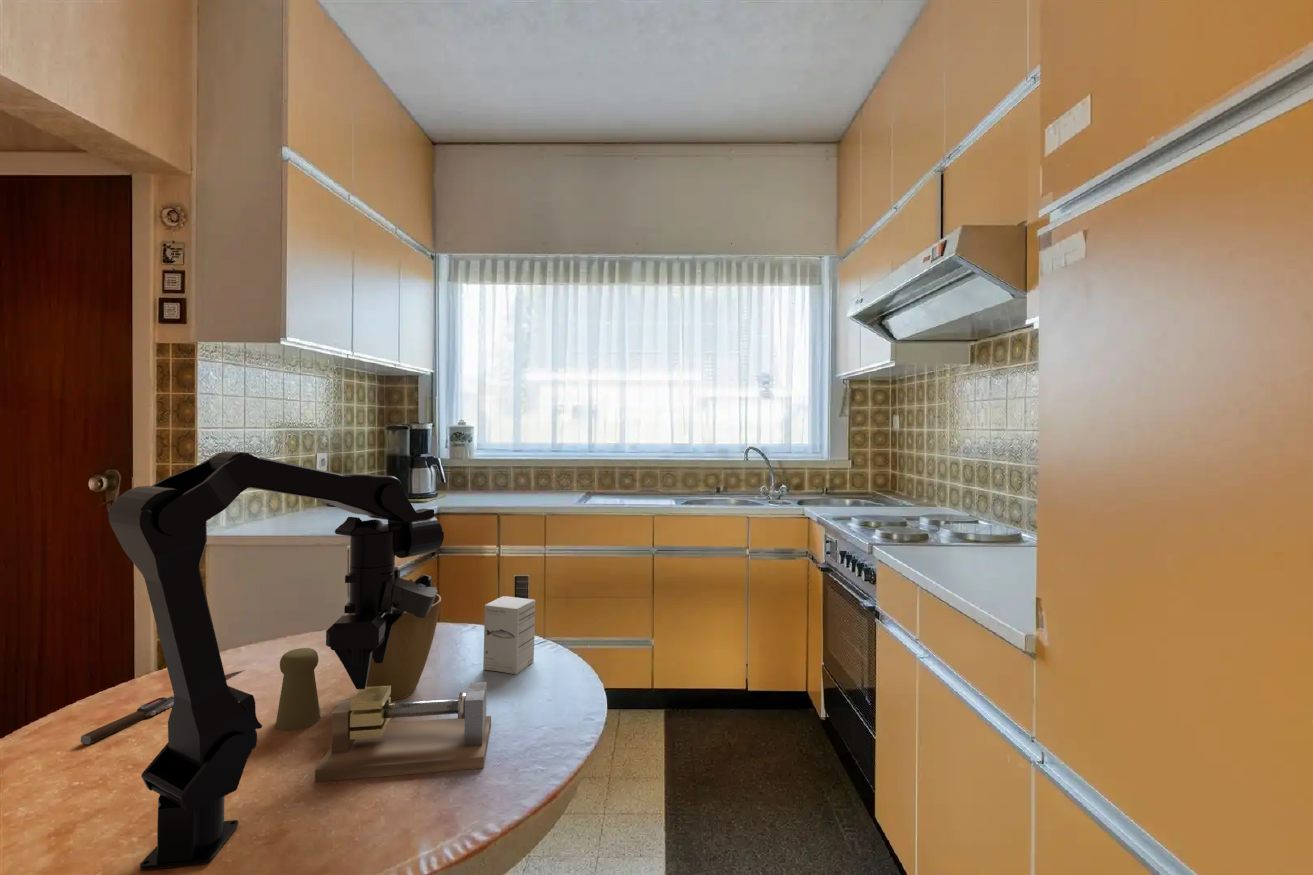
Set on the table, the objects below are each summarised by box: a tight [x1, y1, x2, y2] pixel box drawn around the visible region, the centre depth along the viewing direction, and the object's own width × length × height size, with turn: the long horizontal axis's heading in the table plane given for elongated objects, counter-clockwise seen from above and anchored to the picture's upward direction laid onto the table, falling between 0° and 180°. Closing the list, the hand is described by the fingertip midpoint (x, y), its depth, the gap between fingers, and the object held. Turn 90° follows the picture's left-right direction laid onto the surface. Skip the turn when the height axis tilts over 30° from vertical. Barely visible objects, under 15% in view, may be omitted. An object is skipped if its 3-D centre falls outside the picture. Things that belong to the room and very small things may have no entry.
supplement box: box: [482, 595, 537, 675], centre depth 117 cm, size 7×7×13 cm
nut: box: [350, 686, 392, 739], centre depth 84 cm, size 5×4×5 cm
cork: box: [275, 647, 321, 731], centre depth 93 cm, size 6×6×11 cm
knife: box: [80, 669, 246, 745], centre depth 100 cm, size 3×2×30 cm
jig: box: [314, 699, 492, 783], centre depth 85 cm, size 12×21×7 cm, turn 101°
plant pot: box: [348, 593, 442, 701], centre depth 105 cm, size 15×15×16 cm
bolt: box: [351, 681, 488, 747], centre depth 85 cm, size 6×19×6 cm, turn 101°
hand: (370, 675), depth 84 cm, fingers open, 9 cm apart
